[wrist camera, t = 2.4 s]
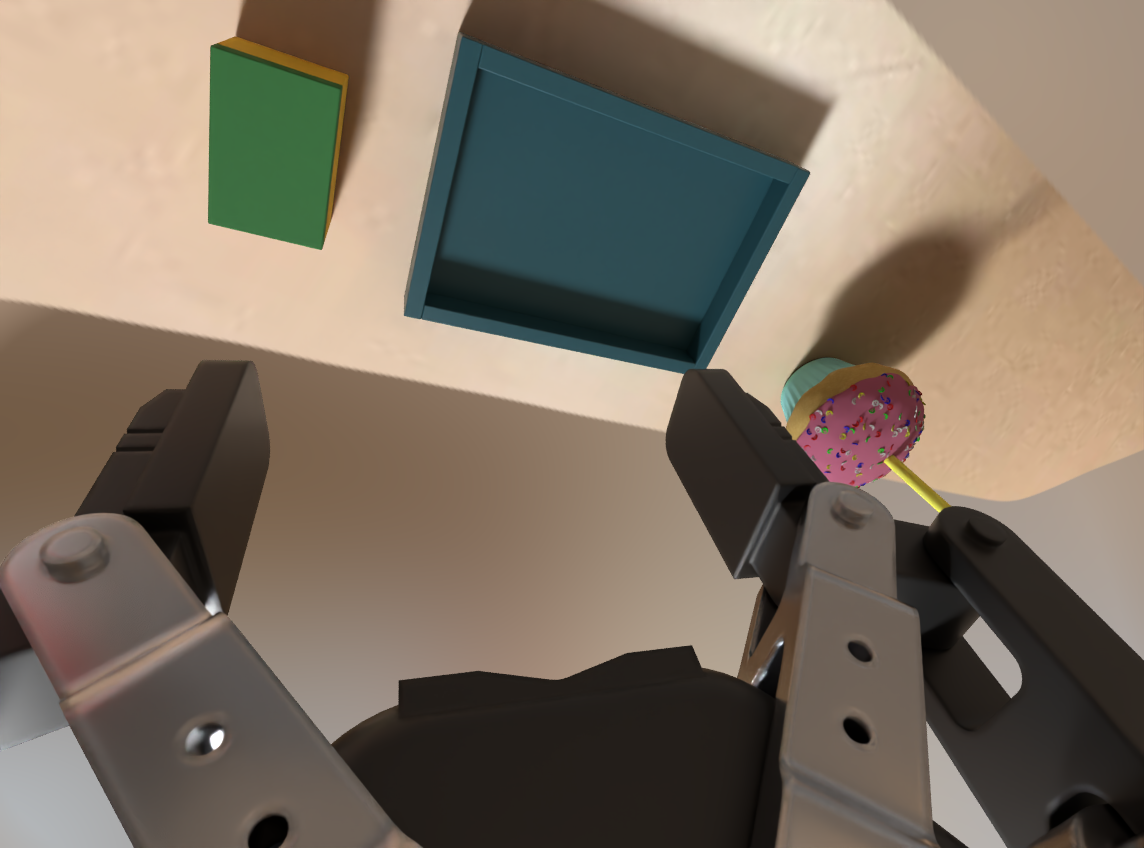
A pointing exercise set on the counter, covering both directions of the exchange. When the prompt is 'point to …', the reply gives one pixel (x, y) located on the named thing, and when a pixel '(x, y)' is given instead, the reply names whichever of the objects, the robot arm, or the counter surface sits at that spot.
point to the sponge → (273, 142)
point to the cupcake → (856, 421)
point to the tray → (588, 216)
